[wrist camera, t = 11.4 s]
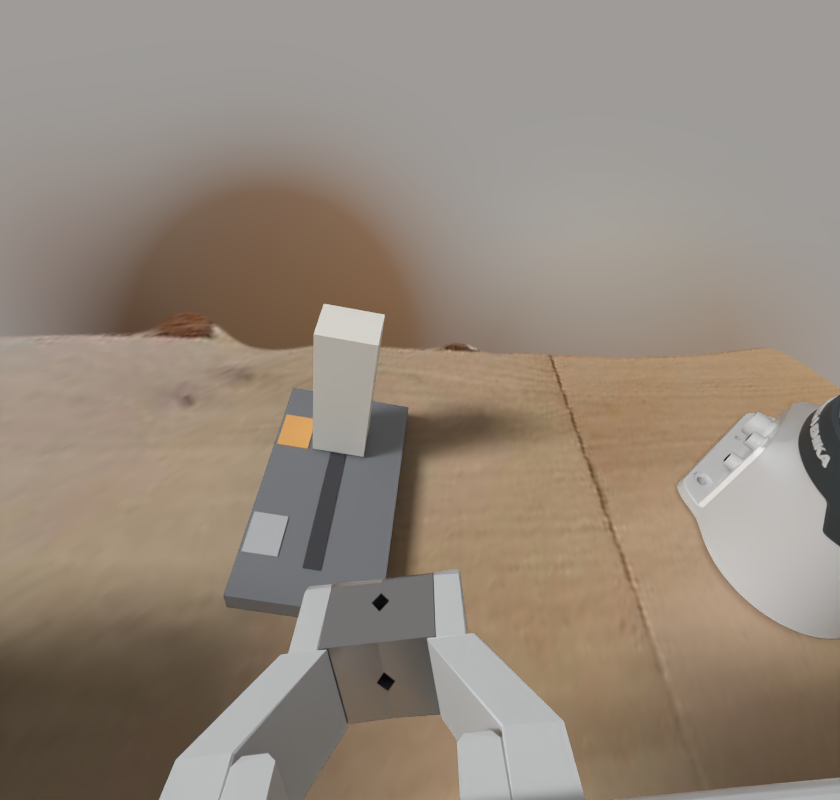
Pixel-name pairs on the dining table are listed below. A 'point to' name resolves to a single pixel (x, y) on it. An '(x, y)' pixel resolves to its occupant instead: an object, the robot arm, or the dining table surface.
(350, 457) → the switch panel
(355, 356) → the switch tab
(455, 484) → the dining table surface
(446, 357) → the dining table surface
